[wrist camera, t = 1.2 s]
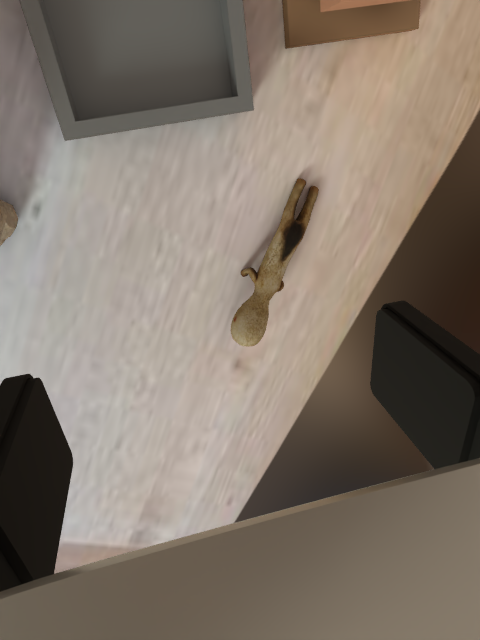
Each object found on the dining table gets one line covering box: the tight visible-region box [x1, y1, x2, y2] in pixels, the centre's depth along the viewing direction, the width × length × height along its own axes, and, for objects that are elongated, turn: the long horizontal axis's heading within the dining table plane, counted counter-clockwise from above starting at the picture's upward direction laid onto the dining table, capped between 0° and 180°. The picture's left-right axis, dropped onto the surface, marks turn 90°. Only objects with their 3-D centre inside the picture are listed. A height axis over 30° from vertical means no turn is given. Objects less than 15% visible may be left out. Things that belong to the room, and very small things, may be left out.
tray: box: [20, 0, 254, 141], centre depth 25 cm, size 13×13×3 cm
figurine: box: [231, 179, 319, 346], centre depth 35 cm, size 4×4×15 cm
